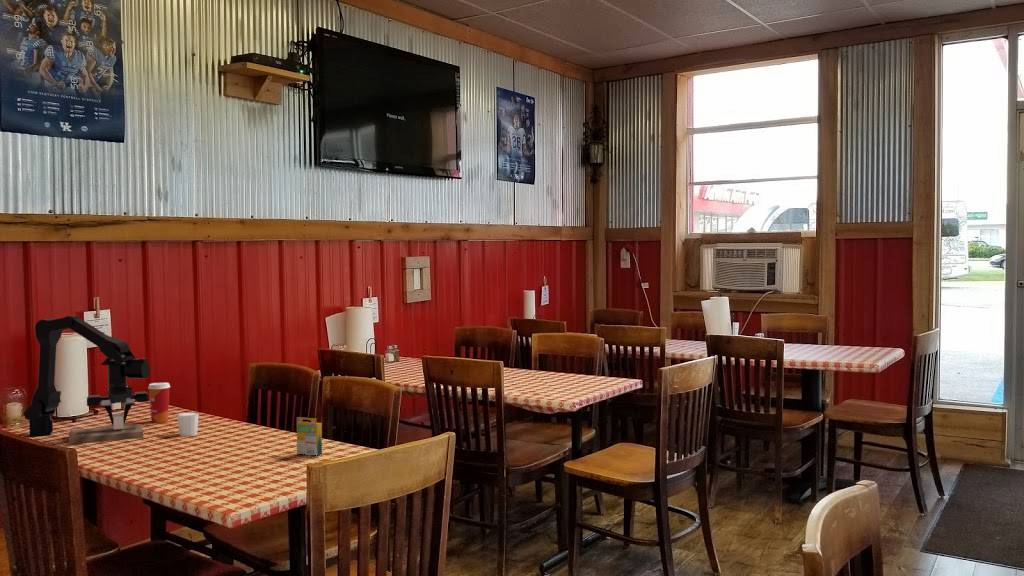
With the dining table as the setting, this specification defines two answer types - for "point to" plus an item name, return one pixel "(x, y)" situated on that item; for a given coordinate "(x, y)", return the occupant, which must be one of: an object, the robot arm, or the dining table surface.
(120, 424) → the fader tab
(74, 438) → the fader console
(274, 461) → the dining table surface
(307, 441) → the crayon box
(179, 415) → the white tapered cup
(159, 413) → the paper cup
